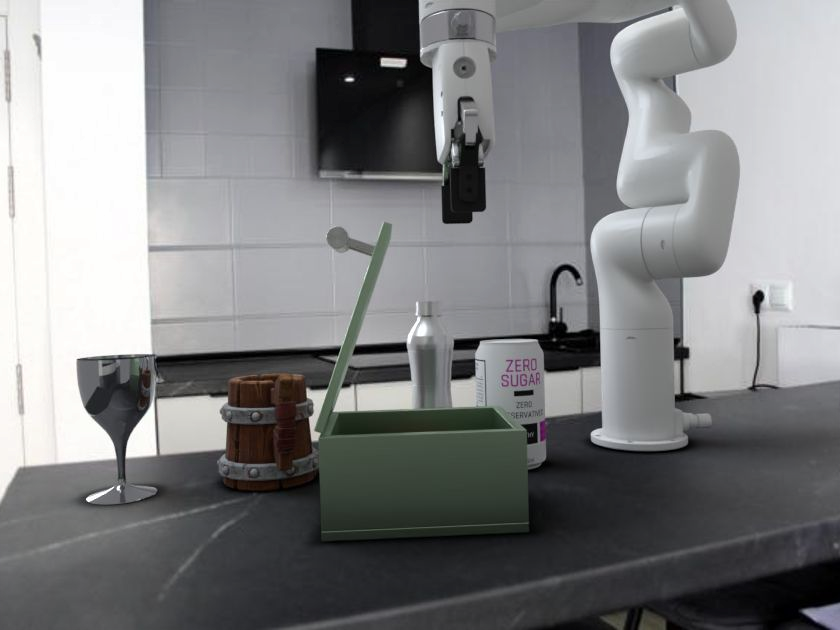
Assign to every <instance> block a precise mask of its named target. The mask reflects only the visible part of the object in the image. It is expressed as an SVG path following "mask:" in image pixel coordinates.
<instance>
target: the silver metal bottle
mask: <svg viewBox="0 0 840 630" xmlns="http://www.w3.org/2000/svg"><path fill="white" fill-rule="evenodd" d="M443 305H444V304H443V300H435V301H415V313H414V314H415V316H417V319H416V321H415V323H414V325H413V326H412V327H411V329H410V331H409V333H408V335H407V338H406V349H407V356H408V362H409V368H410V378H411V380H410V381H411V391H412V392H411V393H412V394H411V409H425V408H453V398H452V382H451V381H452V365H453V355H454V345H455V340H454V337H453V333H452V332H451V330H450V329H449V327H448V325H447V324H446V323H445V321H444V320H443V317H442V315H444V310H443V309H444V307H443Z"/></svg>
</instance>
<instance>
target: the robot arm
mask: <svg viewBox="0 0 840 630" xmlns="http://www.w3.org/2000/svg"><path fill="white" fill-rule="evenodd" d="M674 6H680V7H679V8H676V9H673V10H670V11H667V12H664V13H660V14H656V15H654V16H650V17H648V18H644V19H642V20H639V21H636V22H634V23H632V24H630V25H628V26H626V27H625V28H623V29H622V30H620V31H619V32H618V33H617V34H616V35H615V36H614V38H613V40H612V42H611V44H610V50H609V57H610V64H611V68H612V71H613V74H614V77H615V79H616V82H617V85H618V87H619V89H620V92H621V95H622V97H623V99H624V102H625V104H626V107H627V112H628V123H627V129H626V134H625V138H624V143H623V147H622V151H621V156H620V159H619V160H620V161H619V164H618V169H617V170H618V171H617V175H616V176H617V177H616V192H617V193H616V194H617V197H618V199H619V200H620V202H622V203H623V204H624V206H626V207H629V208H630V209H624V210H618V211H615V212H612V213H610V214H608V215H606V216H604V217H602V218H601V219H600V220H599V221H598V222H596V224H595V225H594V227H593V228H592V230H591V231H592V232H591V234H590V243H589V245H590V255H591V259H592V265H593V269H594V273H595V278H596V284H597V293H598V306H599V308H598V309H599V342H600V345H599V346H600V385H601V386H600V388H601V392H600V393H601V428H595V429H594V430H592V431H591V432H590V441H591V443H593V444H594V445H597V446H600V447H602V448H607V449H610V450H611V449H613V450H619V451H630V452H665V451H672V450H679V449H682V448H684V447H686V446H687V445H688V444H689V436H688V435H687V433H685V432H687V431H689V430H690V429H692V428H693V429H694V428H695V429H711V427H712V425H713V418H712V416H711V414H710V413H695V414H693V413H692V412H685V411H684V412H683V410H681V409H679V408H676V399H675V398H676V397H675V396H676V395H675V394H676V393H675V389H676V388H675V345H674V343H675V341H674V339H675V337H674V313H673V309H672V306H671V304H670V302H669V300H668V299H667V297H666V295H665V294H664V293H663V291H662V290H661V288H660V287H659V286H658V285H657V283H656V281H657V280H663V279H666V280H667V279H685V278H686V279H688V278H690V279H691V278H701V277H708V276H711V275H714V274H715V273H717V272H718V271H719V270H720V269H721V268H722V267H723V265H724V264H725V261H726V258H727V256H728V251H729V248H730V247H729V246H730V241H731V237H732V236H731V235H732V230H733V223H734V219H735V211H736V205H737V200H738V195H739V194H738V193H739V187H740V179H741V178H740V177H741V162H740V155H739V152H738V148H737V145H736V143H735V141H734V140H733V138H732V137H731V136H730V135H729V134H728V133H726V132H725V131H722V130H718V129H702V130H695V131H691V126H692V112H691V109H690V108H689V106H688V104H687V103H686V102H685V101H684V99H682V97H681V96H680V95H679V94H678V93H676V92H675V91H674V90H672V89H671V88H670V87H668V86H667V84H666V83H665V82H664V80H663V79H665V78H666V79H667V78H668V77H669V78H670V77H674V76H678V75H682V74H686V73H689V72H693V71H698V70H701V69H706V68H710V67H713V66H716V65H719V64H721V63H723V62H724V61H726V60H727V59H728V58H730V56H731V55H732V54H733V52H734V51H735V48H736V45H737V40H738V39H737V38H738V30H737V22H736V19H735V16H734V13H733V10H732V8H731V6H730V4H729V2H728V0H418V16H419V17H418V19H419V20H418V23H419V59H420V62H421V63H422V65H424V66H425V67H428V68H430V69H432V97H433V99H432V100H433V121H434V135H435V147H436V148H435V150H436V159H437V162H438V163H439V164H441V165H442V185H441V186H440V189H441V190H440V192H441V193H440V194H441V197H440V198H441V222H442V224H444V225H462V224H465V225H466V224H467V225H468V224H471V223H473V220H474V218H473V217H474V216H473V213H483V212H485V211H486V209H487V188H486V187H487V184H486V182H487V181H486V167H485V166H484V164H485V160H486V159H487V158H488V157H489V155H490V154H491V153H492V152H493V149H494V147H495V145H496V129H495V128H496V127H495V113H494V97H493V84H492V70H491V69H492V68H491V63H493V62H494V61H495V60H496V59H497V57H498V55H497V53H498V51H497V33H504V32H505V33H506V32H513V31H519V30H526V29H527V30H528V29H533V28H545V27H553V26H558V25H559V26H560V25H564V24H568V23H598V24H617V23H624V22H628V21H632V20H634V19H637V18H640V17H644V16H647V15H650V14H653V13H656V12H659V11H662V10H665V9H668V8H671V7H674ZM690 131H691V132H690Z"/></svg>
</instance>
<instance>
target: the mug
mask: <svg viewBox="0 0 840 630" xmlns="http://www.w3.org/2000/svg"><path fill="white" fill-rule="evenodd" d="M307 393H308V392H307V381H306V376H305V375H303V374H298V373H262V374H261V375H260V376H259V375H258V374H249V375H242V376H236V377H233V378H229V380H228V381H227V402H225V403H224V404H223V405H221V407H220V409H219V414H220V415H221V420H222V421H224V422H225V423H226V435H225V436H226V437H225V440H226V442H225V453H224V454H223V455H222V456H221V457H220V458H219V459H218V460H217V462H216V465H217V467H218V473H219V474H220V476H221V477H223V478H222V482H223V483H224V485H225V486H226V487H227V488H230V489H233V490H235V489H237V490H238V491H248V492H252V491H253V492H266V491H277V490H280V487H282V488H283V489H285V490H286V489H290V488H295V487H298V486H301V485H305V484H308V483H310V482H311V481H312V480H314V479H315V478H316V476H317V469H319V449H318V450H317V449H316V448H315V447H313V441H312V433H311V426H310V425H311V424H310V418H311V417H312V416H313V415H314V414H315V409H314V406H315V404H314V401H313V399H312V398H309V397H308V395H307Z"/></svg>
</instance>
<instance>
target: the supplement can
mask: <svg viewBox="0 0 840 630" xmlns="http://www.w3.org/2000/svg"><path fill="white" fill-rule="evenodd" d="M474 364H475V367H474V368H475V393H476V394H475V399H476V402H475V403H476V407H481V406H501V407H502V408H503V409H504V410H505V411H506V412H507V413H508V414H509V415H510V416H512V417H513V418H514V419H515V420H516V421H517V422H518V423H519V424H520V425H521V426H523V427H524V428H525V429H526V430H527V464H528V470H533V469H536V468H539V467H540V466H541V465H542V464H543V463H544V462H545V461H546V459H547V435H546V434H547V433H546V432H547V431H546V429H547V427H546V395H545V394H546V391H545V389H546V388H545V356H544V351H543V349H542V347H541V345H540V343H539V340H538V339H534V338H533V339H532V338H503V339H501V338H500V339H485V340H480V341H479V346H478V347H477V349H476V350H475V353H474Z"/></svg>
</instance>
